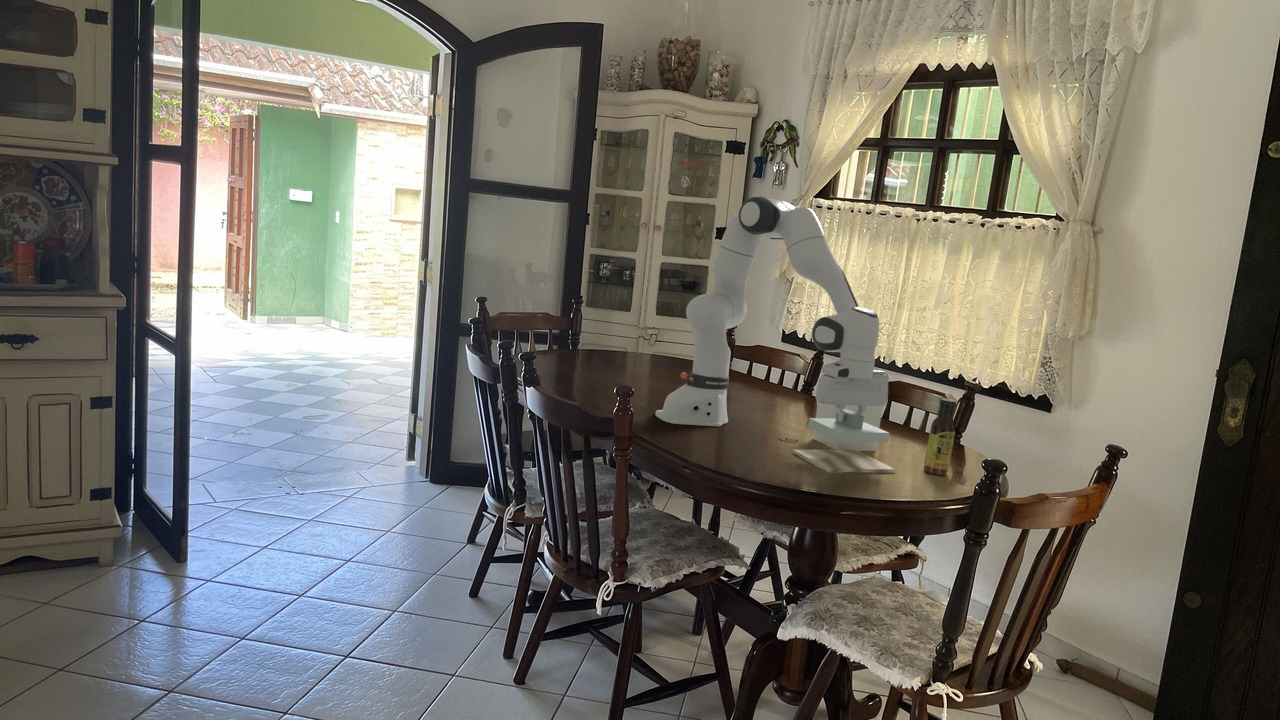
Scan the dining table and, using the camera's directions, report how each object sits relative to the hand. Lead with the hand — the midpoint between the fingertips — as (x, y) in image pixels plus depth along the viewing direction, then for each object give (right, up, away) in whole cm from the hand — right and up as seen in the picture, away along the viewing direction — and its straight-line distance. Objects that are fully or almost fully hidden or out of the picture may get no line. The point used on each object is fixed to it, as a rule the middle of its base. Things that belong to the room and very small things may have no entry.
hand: (848, 421), depth 224 cm
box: (+4, -9, +23) cm, 24 cm away
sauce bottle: (+23, -14, +1) cm, 27 cm away
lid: (0, -4, 0) cm, 4 cm away
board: (-1, -11, +2) cm, 11 cm away
